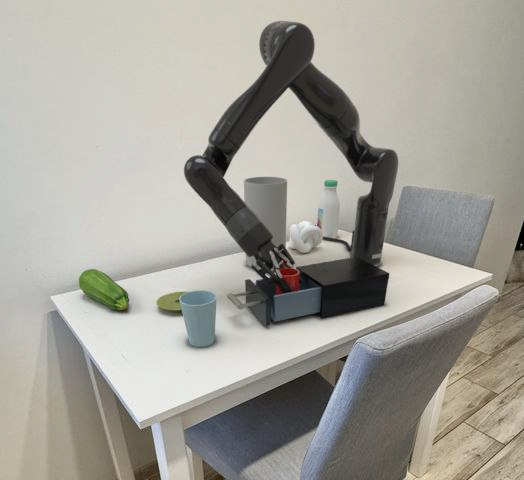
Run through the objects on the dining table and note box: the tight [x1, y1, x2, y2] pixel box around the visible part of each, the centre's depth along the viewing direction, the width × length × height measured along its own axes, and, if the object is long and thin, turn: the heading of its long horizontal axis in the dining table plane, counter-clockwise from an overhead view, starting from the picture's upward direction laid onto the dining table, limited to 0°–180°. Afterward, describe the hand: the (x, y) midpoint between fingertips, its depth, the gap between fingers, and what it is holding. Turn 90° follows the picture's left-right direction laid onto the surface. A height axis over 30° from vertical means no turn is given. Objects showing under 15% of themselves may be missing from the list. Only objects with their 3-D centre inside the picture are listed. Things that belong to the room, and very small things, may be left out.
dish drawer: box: [226, 273, 322, 327], centre depth 101 cm, size 23×12×7 cm, turn 114°
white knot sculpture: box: [288, 220, 323, 254], centre depth 143 cm, size 11×12×9 cm
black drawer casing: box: [295, 257, 390, 320], centre depth 107 cm, size 19×14×9 cm
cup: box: [179, 289, 217, 348], centre depth 90 cm, size 8×8×10 cm
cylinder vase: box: [243, 176, 288, 268], centre depth 128 cm, size 12×12×25 cm
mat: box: [156, 291, 189, 311], centre depth 107 cm, size 11×11×2 cm
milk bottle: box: [316, 179, 341, 239], centre depth 154 cm, size 8×8×20 cm
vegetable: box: [78, 268, 130, 311], centre depth 108 cm, size 7×7×20 cm
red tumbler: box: [276, 267, 300, 295], centre depth 100 cm, size 5×5×8 cm
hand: (294, 288), depth 99 cm, fingers closed on red tumbler, 5 cm apart
